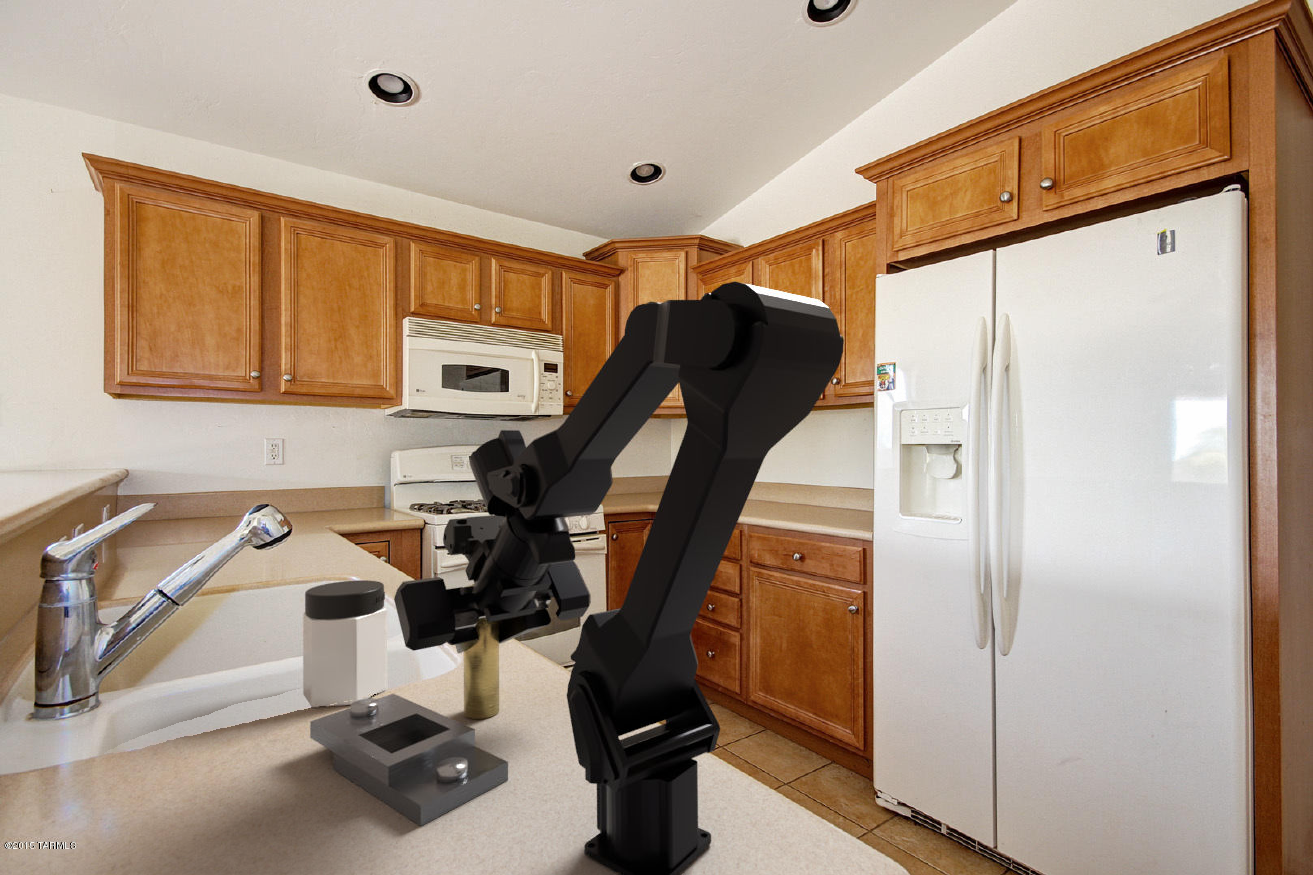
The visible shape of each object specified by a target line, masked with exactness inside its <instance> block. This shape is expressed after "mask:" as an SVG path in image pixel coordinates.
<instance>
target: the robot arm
mask: <svg viewBox="0 0 1313 875" xmlns="http://www.w3.org/2000/svg"><path fill="white" fill-rule="evenodd" d="M839 328H840V327H839V324H838V320H837V318H836V317H835V315H834V314H833V311H832V310H831V308H830V307H829V306H828V305H826V304H825V303H824V302H822V301H821V300H819V299H816V298H811V297H807V296H803V295H798V294H793V293H788V292H784V291H780V290H776V289H772V288H766V287H762V286H756V285H753V284H750V283H749V284H748V283H743V282H739V281H730V282H726V283H722V284H721V285H719V286H718V287H716V288H715V289H713V290H712V291H711V292H705V293H704V294H703V295H702V297H701V299H667V300H665V301H662V302H657V301H649V302H647V303H640V304H638V305H636V306H634V308H633V309H632V310H631V311H630V313H629V315H628V317H627V318H626V322H625V327H624V335H623V337H621V339H620V340H619V342H618V343H617V345H616V346H615V348H614V350H613V351H612V352H611V354H610V355H609V356H608V358H607V359H606V360H605V362H604V364H603V365H602V367H601V368H600V369H599V371H598V373H597V374H596V375H595V377H594V378H593V380H592V381H591V383H590V384H589V385H588V387H587V388H586V390H585V391H584V393H583V394H582V396H581V397H580V399H579V400H578V402H577V403H576V404H575V406H574V408H573V409H572V410H571V411H570V413H569V414H568V416H567V418H565V420H564V422H563V423H562V424H561V425H560V426H559V427H558V428H557V429H554V430H553V431H552V430H551V431H550V432H548V433H545V434H543V435H541V436H539V437H537V438H534V439H533V440H532V441H531V442H530V443H529V444H528V445H526V443H525V438H524V437H523V434H522V432H521V430H519V429H517V430H515V429H513V430H510V429H509V430H507V429H501V430H500V431H499V434H498V437H496V438H493V439H490V440H488V441H487V442H484V443H483V444H481V445H480V446H479V447H477V449H476V450H474V451H472V452H471V455H470V457H469V460H468V461H469V466H470V469H471V472H472V474H473V477H474V479H475V483H476V484H477V487H478V490H479V493H480V494H481V498H482V500H483V503H484V506H485V508H486V511H487V513H488V515H479V516H468V517H464V518H462V517H461V518H451V519H449V520H448V522H447V523H446V526H444V532H443V536H442V543H443V546H444V547H445V549H446V551H447V552H448V554H449V555H450V556H457V555H462V556H464V557H465V558H466V560H467V562H468V564H467V566H466V569H465V574H466V576H467V580H468V581H470V582H471V581H473V585H474V586H469V585H468V586H469V587H466V586H464V587H463V586H460V587H453V588H447V586H446V583H445V581H444V578H442V577H439V576H436V577H428V578H421V579H414V580H407V581H406V580H405V581H402V582H401V584H399V586H398V587H397V589H396V592H395V595H394V598H393V601H394V604H395V609H396V613H397V617H398V622H399V625H400V629H401V633H402V638H403V641H404V645H405V647H406V648H408V649H409V650H411V651H418V650H424V649H428V648H429V649H430V648H434V647H439V646H443V645H445V644H446V643H447V644H449V645H450V646H455V649H456V652H457V654H461V653H464V651H465V650H467V649H468V648H469V647H470V646H471V645H473V644H474V643H475V642H476V641H478V640H479V636H478V633H477V630H476V627H475V625H476V624H477V623H478V620H479V619H480V618H485V617H486V619H487V622H491V621H497V620H499V645H500V644H503V643H506V642H508V641H511V640H513V639H515V638H517V637H520V636H523V635H525V634H527V633H530V632H534V631H536V630H538V629H541V628H545V627H547V626H549V625H550V624H551V622H552V618H551V616H550V613H549V611H548V609H549V605H548V604H550V602H551V601H552V598H554V600H555V603H556V605H557V607H558V609H557V610H556V611H555V615H556V618H557V619H559V620H560V621H562V622H563V621H568V620H572V619H577V618H582V617H583V616H585V614H586V612H587V611H588V609H589V607H590V605H591V601H592V600H591V599H592V598H591V593H590V591H589V588H588V586H587V584H586V582H585V580H584V578H583V576H582V573H581V571H580V569H579V566H578V565H577V563H576V562H575V560H576V549H575V546H574V543H573V542H572V540H571V537H570V536H571V535H570V528H569V525H568V523H567V520H566V518H573V517H582V516H583V517H585V516H591V515H593V514H594V513H596V512H597V510H598V509H599V507H600V506H601V505H602V503H603V501H604V500H605V497H606V496H607V494H608V492H609V491H610V489H611V487H612V485H613V484H614V480H613V479H614V478H613V472H612V470H613V469H612V466H613V464H614V463H615V461H616V459H617V458H618V457H619V455H620V454H621V453H622V452H623V451H624V450H625V448H626V447H627V446H628V445H629V443H631V441H632V440H633V439H634V437H635V436H636V435H637V434H638V433H639V431H641V429H642V428H643V427H644V425H645V424H646V423H647V422H648V420H650V418H651V417H652V415H654V413H656V411H657V410H658V408H659V407H660V406H661V405H662V404H663V403H664V401H665V400H666V398H668V397H669V395H670V394H671V393H672V392H673V390H674V389H675V388H676V387H677V385H678V384H679V387H680V393H681V397H682V402H683V406H684V410H685V415H686V416H685V417H686V420H687V425H686V429H685V432H684V433H683V434H684V435H683V437H682V439H681V443H680V445H679V449H678V451H677V454H676V457H675V460H674V462H673V465H672V468H671V470H670V473H669V477H668V479H667V480H666V485H665V488H664V490H663V493H662V495H661V498H660V501H659V505H658V507H657V508H656V509H657V510H656V513H655V515H654V517H653V518H654V519H653V520H652V523H651V527H650V529H649V532H648V535H647V537H646V539H645V543H644V545H643V549H642V551H641V552H640V553H641V554H640V557H639V559H638V562H637V564H636V567H635V571H634V574H633V577H632V579H631V581H630V583H629V587H628V590H627V593H626V596H625V598H624V600H623V601H624V602H623V604H622V606H621V607H620V608H615V609H611V610H606V611H601V612H600V611H599V612H596V613H592V614H589V615H588V616H587V618H586V619H585V621H584V622H583V624H582V627H581V630H580V636H579V640H578V644H577V646H576V649H575V650H574V651H573V652H572V653H571V655H570V660H571V661H572V662H574V664H573V666H572V669H571V673H570V675H569V681H568V684H567V692H566V699H567V706H568V711H569V713H568V714H569V717H570V723H571V730H572V734H573V735H572V736H573V742H574V747H575V751H576V752H575V754H576V755H577V761H578V764H579V765H580V766H581V767H582V768H583V769H584V775H585V776H584V778H585V781H587V782H588V783H589V784H592V785H593V784H594V785H595V784H596V828H597V830H598V831H599V833H598V834H596V835H594V837H592V838H591V839H590V840H588V841H587V842H585V844H584V847H583V848H584V855H586V856H588V857H589V858H591V859H592V860H595V861H597V862H598V863H600V864H602V865H604V866H606V867H607V868H609V869H611V870H613V871H615V872H617V873H619V874H621V875H678V874H680V873H681V872H682V871H683V870H684V869H685V868H686V867H687V866H688V865H689V864H690V863H692V861H693V860H695V859H696V858H697V857H698V856H699V855H700V854H701V853H702V852H703V851H704V850H706V848H708V847H709V846H710V845H711V844H712V834H711V832H709V831H707V830H705V829H703V828H701V827H699V788H698V787H699V786H698V785H699V784H698V782H699V780H698V778H699V777H698V776H699V774H698V773H699V772H698V771H699V770H698V764H699V763H698V761H697V760H696V759H694V758H697V757H699V756H702V755H704V754H710V753H712V752H714V751H715V750H716V747H717V742H718V739H719V735H720V732H721V726H720V724H719V721H718V720H717V718H716V716H715V713H714V712H713V710H712V708H711V707H710V705H709V702H708V701H707V699H706V697H705V695H704V694H703V691H702V690H701V687H700V686H699V685H698V682H697V680H696V679H695V678H696V674H697V670H698V668H699V666H698V665H699V661H698V657H697V652H696V649H695V646H694V643H693V640H692V636H691V634H692V632H693V628H694V626H695V623H696V622H697V618H698V616H699V614H700V612H701V609H702V606H703V604H704V602H705V600H706V598H707V594H708V592H709V590H710V588H711V585H712V583H713V581H714V578H715V575H717V574H716V573H717V571H718V570H719V566H720V564H721V561H722V560H723V556H724V555H725V552H726V550H727V547H728V545H729V542H730V540H731V539H732V536H733V533H734V531H735V528H736V526H737V524H738V521H739V520H740V517H741V514H742V512H743V509H744V507H745V505H746V503H747V500H748V498H749V495H750V493H751V491H752V489H753V486H754V483H755V481H756V479H757V477H758V474H759V472H760V470H761V467H762V464H764V460H765V458H766V456H768V453H769V451H771V449H772V448H773V447H775V446H776V445H777V444H778V443H779V442H780V441H781V440H782V439H784V438H785V437H786V436H787V435H788V434H789V433H790V432H792V431H793V429H795V428H796V427H797V426H798V425H799V424H801V423H802V422H803V421H804V420H805V419H806V418H807V417H808V416H809V415H810V413H811V412H812V410H813V409H814V407H815V406H816V404H817V403H818V401H819V399H820V398H821V396H822V395H823V393H824V391H825V390H826V389H827V387H828V385H829V383H831V380H832V379H833V377H834V376H835V374H836V372H837V371H838V369H839V366H840V365H841V360H842V357H843V354H844V345H845V339H844V337H843V335H841V332H840V329H839ZM663 721H665V723H664V724H661V725H658V726H655V727H653V728H650V729H647V730H645V731H642V732H641V731H640V732H639V733H636V734H633V735H629V736H628V737H624V738H622V739H620V736H623V735H627V734H629V733H632V732H635V731H637V730H641V729H644V728H646V727H649V726H651V725H655V724H658V723H660V722H663Z"/></svg>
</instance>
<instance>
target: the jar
mask: <svg viewBox="0 0 1313 875" xmlns="http://www.w3.org/2000/svg"><path fill="white" fill-rule="evenodd" d="M385 599H386V592H385V585H384V583H383V582H381V581H377V580H364V579H363V580H362V579H361V580H347V581H346V580H345V581H336V582H329V583H324V584H320V585H316V586H313V587H310V588H309V589H307V590H306V591H305V593H304V609H305V610H304V612H303V613H302V615H303V616H302V617H303V618H302V620H303V622H302V624H303V626H302V628H303V632H302V637H303V640H302V648H303V649H302V650H303V652H302V656H303V657H302V661H303V663H302V664H303V665H302V669H303V670H302V672H303V673H302V675H303V677H302V678H303V679H302V680H303V681H302V682H303V683H302V684H303V685H302V688H303V691H302V692H303V696H304V697H305V699H306V700H307V702H308V703H309V705H310V706H311V708H320V707H319V706H326V707H325V708H328V707H339V706H350V705H351V704H352V703H353V702H355V701H358V700H361V699H367V698H371V697H369V696H368V695H373V694H376V695H378V694H377V693H379V694H381V693H383V692H384V691H386V690H388V609H387V608H386V607H385ZM363 697H366V698H363ZM350 700H353V701H350ZM344 701H348V702H344ZM334 703H337V704H334ZM330 704H334V705H330ZM328 705H330V706H328Z"/></svg>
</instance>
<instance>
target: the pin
mask: <svg viewBox="0 0 1313 875" xmlns="http://www.w3.org/2000/svg"><path fill="white" fill-rule="evenodd" d="M469 586H474V584H470V585H466V586H465V587H469ZM475 627H476V630H477V633H478V636H479V640H478V641H476V642H475V643H474V644H473V645H471V646H470V647H469V648H468V649H467V650H465V651H463V715H464V717H465V718H468V719H471V720H480V719H482V720H483V719H487V718H491V717H494V716H495V715H497V714H498V713H499V712H500V644H499V620H497V621H491V622H487V619H486V617H485V618H480V619H479V620H478V623H477V624H476V625H475Z"/></svg>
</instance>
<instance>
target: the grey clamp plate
mask: <svg viewBox="0 0 1313 875" xmlns="http://www.w3.org/2000/svg"><path fill="white" fill-rule="evenodd" d="M309 723H310V725H309V726H310V727H309V728H310V729H309V730H310V731H309V733H310V734H309V736H310V737H309V738H310V739H311V740H313V741H314V742H316V743H318V744H319V745H321V746H323V747H324V748H326V749H328V750H329V751H331V752H332V753H333V771H335V772H336V773H337V774H340V775H341V776H343V777H344V778H346V779H347V780H349V781H351V782H352V783H353V784H355V785H357V786H358V787H360V788H361V789H363V790H364V791H366V792H368V793H369V794H371V795H372V796H373V797H376V798H377V799H378V800H379V801H380V802H383V803H385V804H386V805H387V806H389V807H390V808H392V809H394V810H395V811H396V812H398V813H399V814H401V815H402V816H404V817H405V818H408V819H409V820H410V821H412V822H413V823H415V824H416V825H418V826H420V827H422V826H424V825H426V824H427V823H429V822H432V821H433V820H436V819H438V818H439V817H441V816H443V815H445V814H446V813H449V812H451V811H452V810H454V809H456V808H458V807H460V806H461V805H464V804H465V803H467V802H469V801H471V800H473V799H475V798H477V797H478V796H481V795H483V794H484V793H486V792H488V791H490V790H492V789H494V788H496V787H498V786H500V785H501V784H504V783H505V782H507V781H509V761H507V760H505V759H503V758H501V757H499V756H497V755H494V754H493V753H491V752H487V751H486V750H483V749H481V748H480V747H477V746H476V729H475V728H473V727H470V726H468V725H466V724H464V723H462V722H460V721H457V720H455V719H452V718H450V717H448V716H446V715H443V714H442V713H439V712H437V711H434V710H432V709H429V708H428V707H425V706H422V705H420V704H419V703H416V702H414V701H411V700H410V699H407V698H404V697H402V696H400V695H398V694H395V693H391V694H388V695H385V696H382V697H379V698H374V697H373V698H372V697H370V698H367V699H361V700H358V701H355V702H353V703H352V704H351V705H349V707H348V708H346V709H343V710H340V711H337V712H334V713H331V714H327V715H326V716H323V717H319V718H316V719H313V720H311V721H310V722H309Z"/></svg>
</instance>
